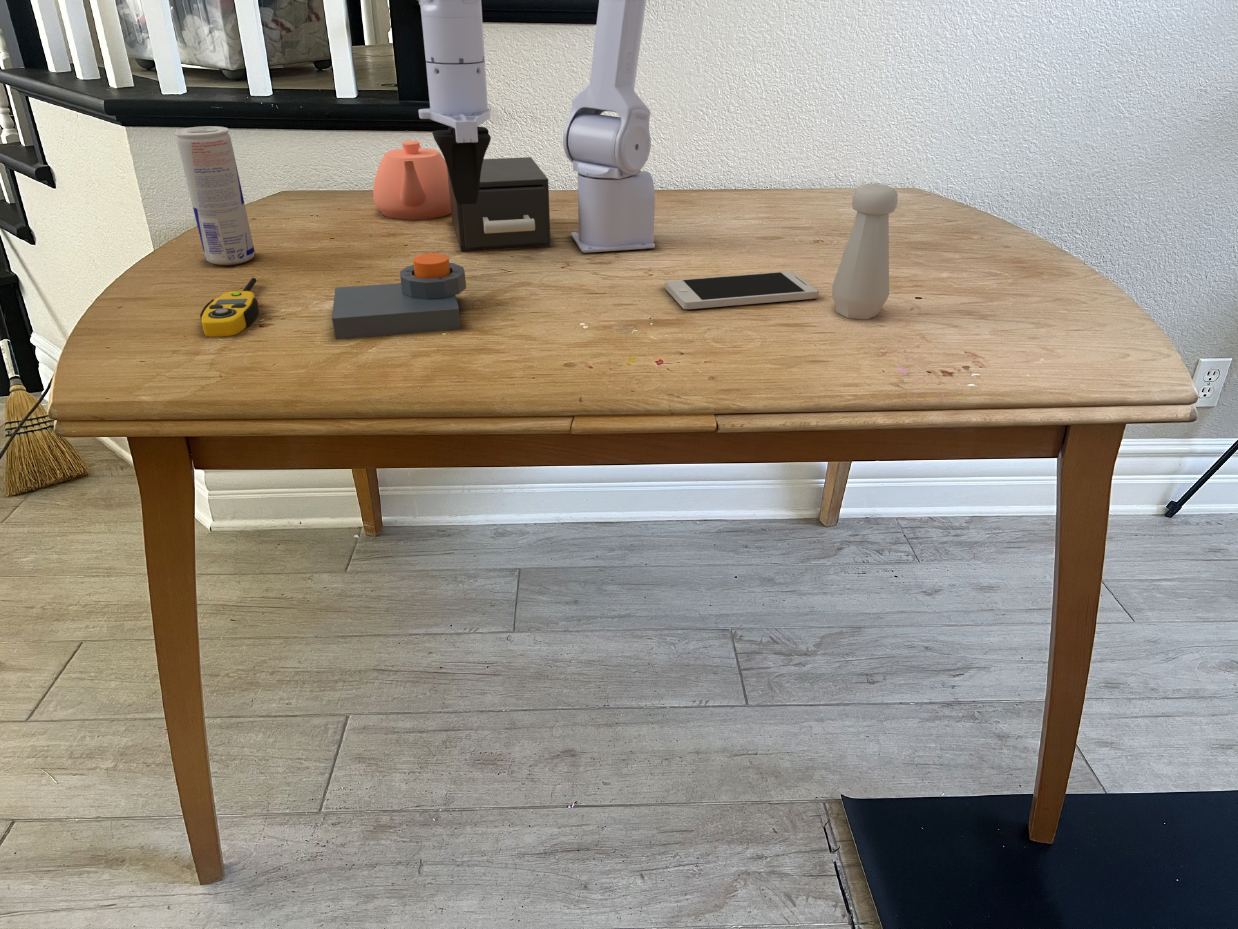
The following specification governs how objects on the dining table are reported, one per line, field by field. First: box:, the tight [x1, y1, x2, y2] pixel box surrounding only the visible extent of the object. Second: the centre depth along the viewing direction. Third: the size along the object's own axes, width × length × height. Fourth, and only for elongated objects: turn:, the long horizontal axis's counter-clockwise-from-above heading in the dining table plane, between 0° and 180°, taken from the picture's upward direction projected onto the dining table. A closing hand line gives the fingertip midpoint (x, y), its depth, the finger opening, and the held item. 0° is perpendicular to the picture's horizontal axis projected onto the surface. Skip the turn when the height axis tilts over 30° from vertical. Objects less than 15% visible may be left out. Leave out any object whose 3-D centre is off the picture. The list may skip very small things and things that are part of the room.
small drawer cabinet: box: [447, 156, 551, 253], centre depth 112 cm, size 13×11×8 cm
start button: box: [412, 252, 450, 278], centre depth 88 cm, size 4×4×2 cm
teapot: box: [372, 140, 451, 220], centre depth 121 cm, size 12×18×10 cm
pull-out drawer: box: [462, 185, 547, 248], centre depth 109 cm, size 17×10×7 cm, turn 14°
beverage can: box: [174, 125, 256, 266], centre depth 100 cm, size 6×6×15 cm
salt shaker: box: [831, 183, 899, 320], centre depth 87 cm, size 6×6×13 cm
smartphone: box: [664, 270, 819, 310], centre depth 94 cm, size 7×15×1 cm, turn 105°
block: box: [331, 262, 467, 340], centre depth 87 cm, size 13×10×4 cm
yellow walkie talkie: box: [199, 277, 259, 338], centre depth 89 cm, size 5×2×15 cm
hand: (466, 202), depth 91 cm, fingers closed
